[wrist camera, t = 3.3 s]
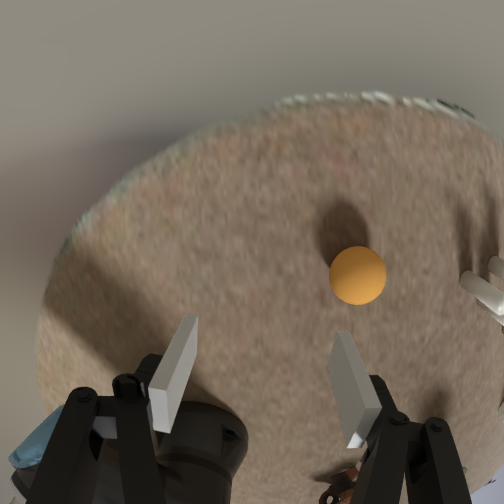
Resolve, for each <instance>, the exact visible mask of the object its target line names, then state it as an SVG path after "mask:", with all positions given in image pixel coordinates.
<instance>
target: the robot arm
mask: <svg viewBox="0 0 504 504" xmlns="http://www.w3.org/2000/svg"><path fill="white" fill-rule="evenodd" d="M197 330H198V315H191V314H185V315H184V317H183V319H182V321H181V322H180V324H179V326H178V328H177V330H176V332H175V334H174V336H173V338H172V340H171V342H170V344H169V346H168V348H167V350H166V352H165V354H164V356H161V355H156V354H149V355H147V356H146V357H145V358H143V360H142V361H141V363H140V366H139V367H138V368H137V371H136V372H135V374H128V373H126V374H121V375H119V376H116V377H115V378H114V379H113V382H112V387H113V392H114V396H98V395H97V393H96V391H95V390H94V389H92V388H89V387H78V388H76V389H74V390H72V392H71V393H70V394H69V397H68V399H67V401H66V403H65V404H63V405H61V406H59V407H58V408H57V409H56V410H55V411H54V412H53V413H52V414H50V415H49V416H48V417H47V418H46V419H45V420H44V421H43V423H41V424H40V425H39V426H38V427H37V428H36V429H35V430H34V431H33V432H32V433H31V434H30V435H29V436H28V437H27V438H26V439H25V440H24V441H23V442H22V443H21V444H20V445H19V446H18V447H17V448H16V449H15V450H14V451H13V452H12V454H11V455H10V456H9V461H10V462H11V464H12V466H13V467H14V468H17V469H16V471H15V472H14V473H13V475H12V476H11V478H10V481H11V484H12V487H13V490H14V493H15V497H14V498H13V500H12V501H11V503H10V504H230V498H231V487H232V479H233V477H234V475H235V474H236V472H237V470H238V468H239V467H240V465H241V463H242V461H243V459H244V458H245V456H246V453H247V450H248V433H247V430H246V428H245V427H244V425H243V424H242V423H241V422H240V421H239V420H238V419H237V418H236V417H234V416H233V415H231V414H230V413H228V412H226V411H224V410H222V409H220V408H217V407H215V406H212V405H208V404H204V403H197V402H181V399H182V396H183V393H184V390H185V387H186V384H187V381H188V379H189V376H190V373H191V370H192V367H193V364H194V361H195V358H196V355H197ZM327 369H328V373H329V377H330V381H331V385H332V389H333V393H334V397H335V401H336V405H337V409H338V413H339V417H340V421H341V425H342V430H343V434H344V438H345V443H346V447H347V448H361V447H362V446H363V444H364V443H365V441H367V445H368V448H367V449H366V451H365V453H364V455H363V456H362V458H361V460H360V462H362V464H361V468H360V471H359V475H358V478H357V481H356V484H355V487H354V491H353V494H352V497H351V500H350V502H349V504H399V500H400V495H401V490H402V484H403V478H404V471H405V479H406V486H407V494H408V503H409V504H472V502H471V498H470V494H469V490H468V486H467V483H466V479H465V475H464V472H463V468H462V465H461V462H460V458H459V455H458V452H457V449H456V446H455V443H454V440H453V437H452V434H451V431H450V428H449V425H448V424H447V422H446V421H444V420H443V419H441V418H438V417H430V418H429V419H427V420H426V422H425V424H421V423H415V422H411V421H410V420H409V418H408V417H407V415H405V414H404V413H402V412H399V411H398V410H397V408H396V406H395V403H394V401H393V399H392V397H391V395H390V392H389V390H388V389H387V386H386V384H385V382H384V380H383V379H382V378H380V377H379V376H378V375H368V372H367V370H366V368H365V365H364V363H363V361H362V358H361V356H360V354H359V351H358V349H357V347H356V344H355V342H354V340H353V338H352V335H351V333H350V331H341V330H337V334H336V337H335V341H334V345H333V349H332V352H331V356H330V359H329V363H328V366H327ZM150 428H151V429H150Z"/></svg>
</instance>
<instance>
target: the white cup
mask: <svg viewBox="0 0 504 504" xmlns="http://www.w3.org/2000/svg"><path fill="white" fill-rule="evenodd" d="M498 414H499V416H500V418H501V419H502V421H503V423H504V402H503V403H502V404H501V406H500V408H499V410H498Z"/></svg>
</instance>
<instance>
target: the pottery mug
mask: <svg viewBox="0 0 504 504" xmlns="http://www.w3.org/2000/svg"><path fill="white" fill-rule="evenodd" d="M358 475H359V471H358V470H357V469H356V467H352V468H350V469H348V470H346V471H344V472H342V473H339V474H337V475H336V476H334V477H332V478H331V485H332V486H331V485H330V486H329V488H328V490H327V491H325V492H324V493H323V494H322V495H321V497H320V499H319V504H327V502H326V501H327V498H328V496H332V497H333V501H332V503H331V504H349V502H350V500H351V497H352V494H353V491H354V487H355V485H354V484H353V483H352V480H353V479H354V478H356V477H357V476H358ZM339 498H340V499H341V500H340V501H339Z"/></svg>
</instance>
